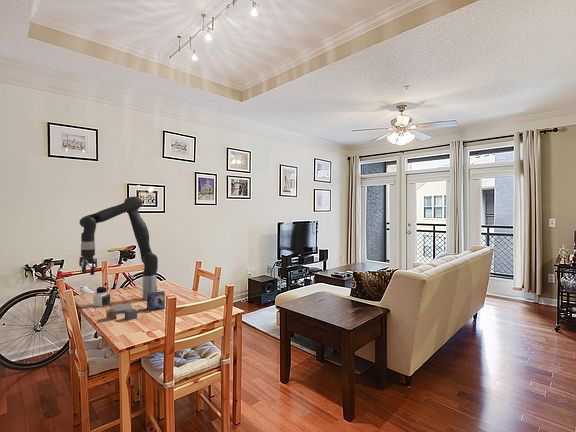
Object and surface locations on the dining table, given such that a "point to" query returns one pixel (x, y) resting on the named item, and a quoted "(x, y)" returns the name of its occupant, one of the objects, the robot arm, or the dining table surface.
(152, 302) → the small box
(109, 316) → the walnut cube
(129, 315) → the charcoal block
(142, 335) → the dining table surface
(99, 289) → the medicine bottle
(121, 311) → the slate coaster
